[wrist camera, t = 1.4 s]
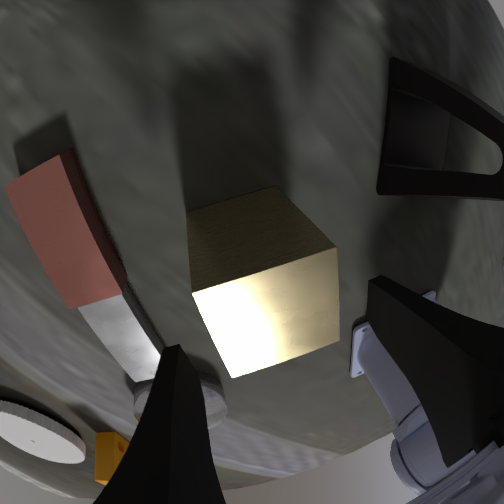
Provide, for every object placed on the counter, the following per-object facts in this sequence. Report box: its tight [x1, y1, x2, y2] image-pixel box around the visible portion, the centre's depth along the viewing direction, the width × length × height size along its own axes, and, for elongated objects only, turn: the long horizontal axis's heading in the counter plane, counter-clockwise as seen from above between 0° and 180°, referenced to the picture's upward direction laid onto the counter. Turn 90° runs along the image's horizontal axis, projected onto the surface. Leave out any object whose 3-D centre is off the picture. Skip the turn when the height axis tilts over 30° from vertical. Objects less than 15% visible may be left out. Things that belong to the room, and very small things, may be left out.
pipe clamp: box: [95, 431, 130, 485], centre depth 25 cm, size 12×4×6 cm, turn 12°
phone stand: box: [376, 57, 504, 201], centre depth 10 cm, size 9×6×12 cm, turn 178°
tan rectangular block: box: [186, 186, 339, 378], centre depth 14 cm, size 5×5×7 cm
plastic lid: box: [0, 400, 86, 464], centre depth 22 cm, size 14×14×2 cm
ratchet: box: [5, 148, 228, 430], centre depth 16 cm, size 8×25×5 cm, turn 12°
